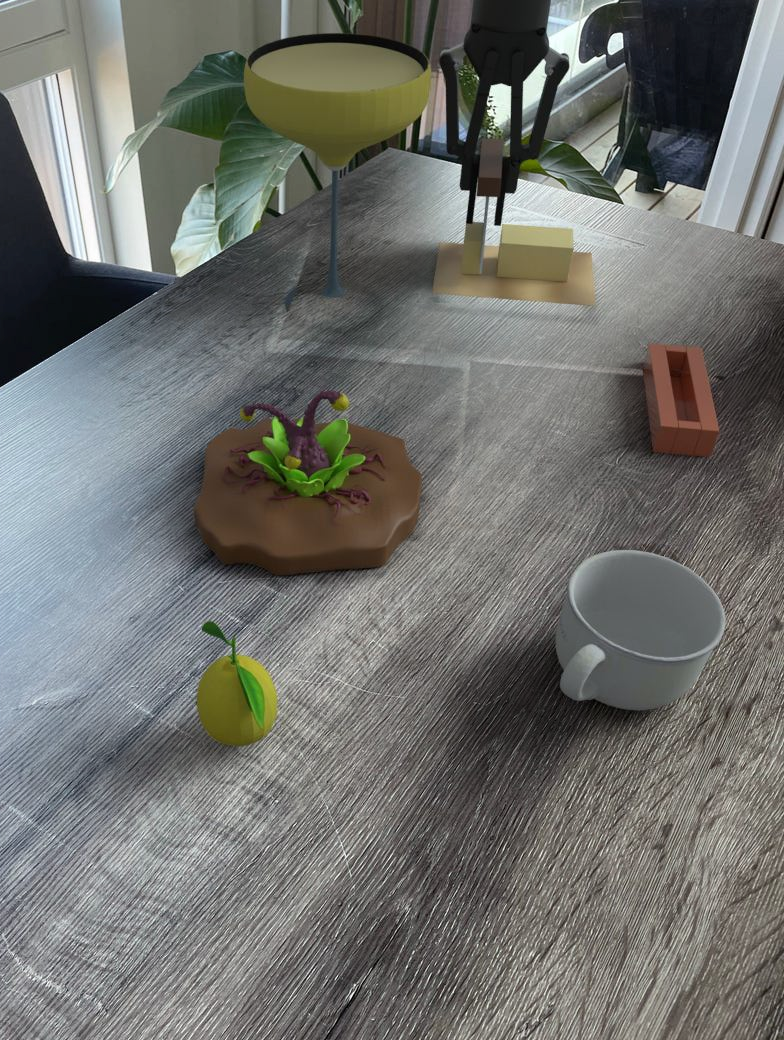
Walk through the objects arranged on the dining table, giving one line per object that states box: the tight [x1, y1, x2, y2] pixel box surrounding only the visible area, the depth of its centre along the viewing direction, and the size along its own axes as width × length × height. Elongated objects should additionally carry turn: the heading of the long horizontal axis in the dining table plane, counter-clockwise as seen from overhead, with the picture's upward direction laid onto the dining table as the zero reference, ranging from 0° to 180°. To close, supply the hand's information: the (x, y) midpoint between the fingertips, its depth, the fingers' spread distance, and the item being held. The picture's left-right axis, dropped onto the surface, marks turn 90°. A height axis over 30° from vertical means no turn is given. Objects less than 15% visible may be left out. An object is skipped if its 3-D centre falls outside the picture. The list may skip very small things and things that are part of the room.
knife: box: [476, 137, 505, 274], centre depth 115 cm, size 2×11×10 cm, turn 171°
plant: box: [192, 389, 423, 576], centre depth 88 cm, size 20×20×11 cm
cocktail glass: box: [243, 32, 432, 312], centre depth 108 cm, size 18×18×25 cm
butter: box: [496, 223, 575, 282], centre depth 118 cm, size 8×5×4 cm, turn 81°
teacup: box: [555, 549, 727, 711], centre depth 74 cm, size 14×11×8 cm
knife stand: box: [641, 342, 720, 458], centre depth 100 cm, size 5×15×4 cm, turn 171°
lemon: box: [196, 620, 278, 747], centre depth 69 cm, size 7×6×10 cm
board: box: [431, 241, 597, 307], centre depth 120 cm, size 18×13×2 cm
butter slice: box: [461, 221, 484, 275], centre depth 119 cm, size 2×5×4 cm, turn 171°
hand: (483, 219), depth 116 cm, fingers closed on knife, 2 cm apart
